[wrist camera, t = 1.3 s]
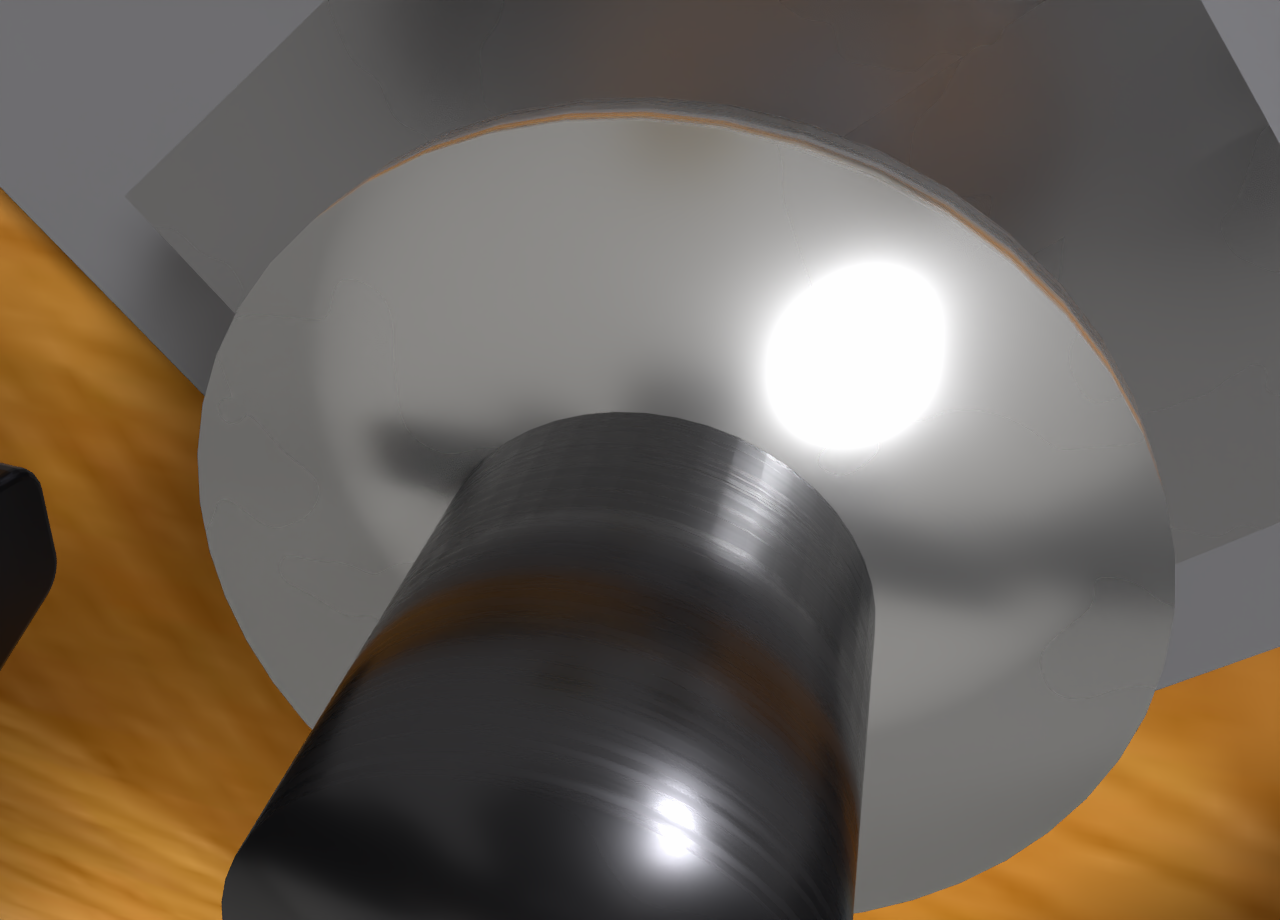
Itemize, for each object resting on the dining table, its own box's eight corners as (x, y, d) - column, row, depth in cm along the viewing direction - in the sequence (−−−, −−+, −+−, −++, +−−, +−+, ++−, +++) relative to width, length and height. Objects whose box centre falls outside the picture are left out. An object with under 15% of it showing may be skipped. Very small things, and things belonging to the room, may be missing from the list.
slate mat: (1972, 344, 16) (2029, 380, 15) (672, 828, 26) (663, 864, 25) (1183, -1921, 9) (1208, -2090, 8) (-149, -28, 19) (-197, -15, 18)
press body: (1319, 254, 16) (1450, 453, 12) (720, 554, 21) (664, 770, 16) (911, -479, 13) (894, -557, 9) (317, 76, 17) (124, 196, 13)
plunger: (1218, 386, 12) (1569, 1287, 5) (690, 633, 16) (487, 1386, 9) (840, -224, 10) (610, -31, 3) (321, 214, 14) (-342, 773, 7)
